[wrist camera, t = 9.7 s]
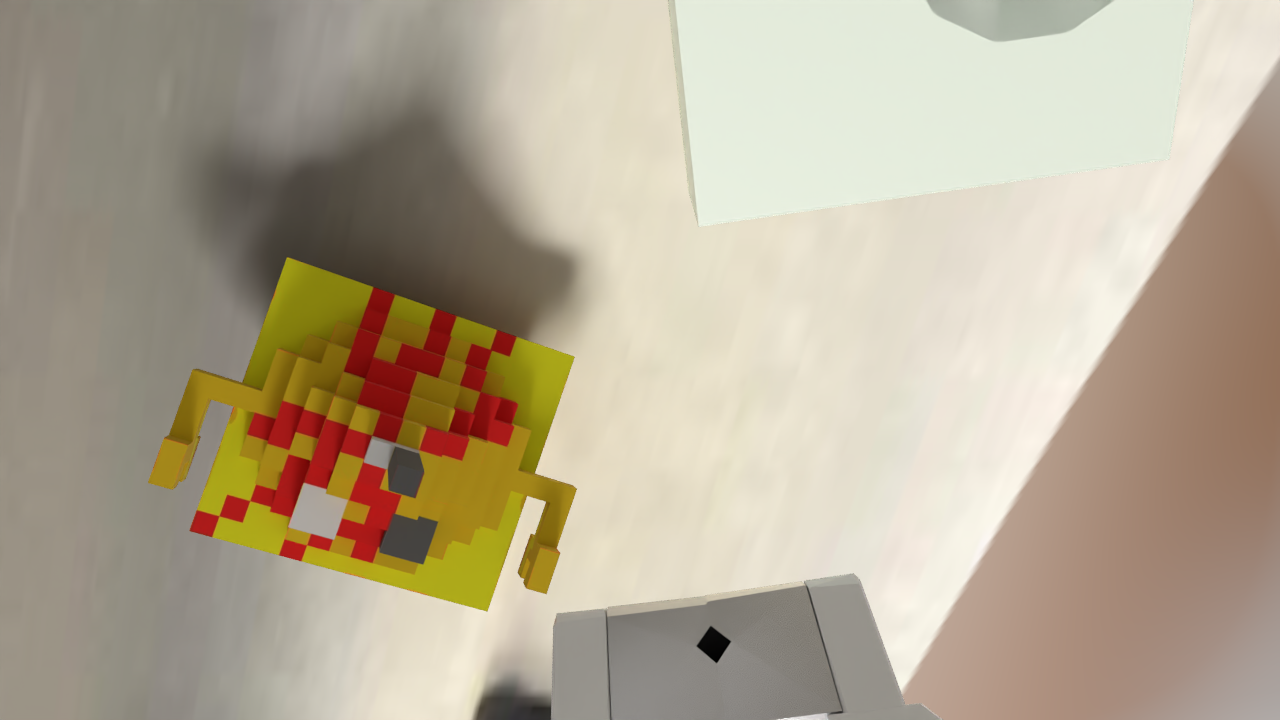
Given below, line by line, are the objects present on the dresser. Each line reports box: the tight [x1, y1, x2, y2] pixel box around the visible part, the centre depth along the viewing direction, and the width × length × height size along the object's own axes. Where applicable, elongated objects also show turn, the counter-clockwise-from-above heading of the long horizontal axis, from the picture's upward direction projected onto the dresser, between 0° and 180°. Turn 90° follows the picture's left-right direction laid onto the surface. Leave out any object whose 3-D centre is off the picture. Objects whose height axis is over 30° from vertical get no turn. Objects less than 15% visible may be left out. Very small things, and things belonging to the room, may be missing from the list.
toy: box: [148, 257, 577, 611], centre depth 34 cm, size 14×10×15 cm
